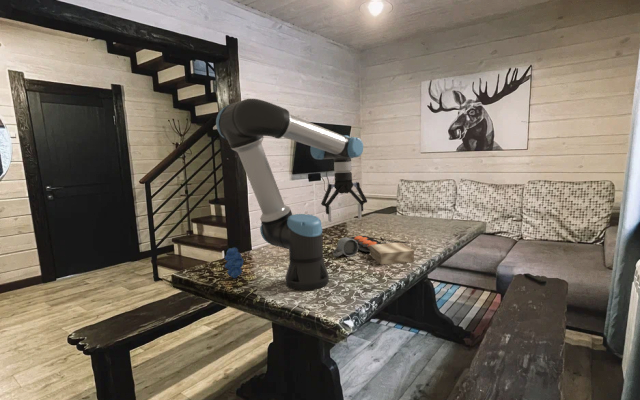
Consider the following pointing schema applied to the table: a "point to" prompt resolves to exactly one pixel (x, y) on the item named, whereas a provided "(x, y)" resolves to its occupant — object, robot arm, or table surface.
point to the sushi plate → (368, 242)
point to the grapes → (234, 262)
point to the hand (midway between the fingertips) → (345, 220)
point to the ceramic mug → (346, 247)
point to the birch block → (391, 253)
